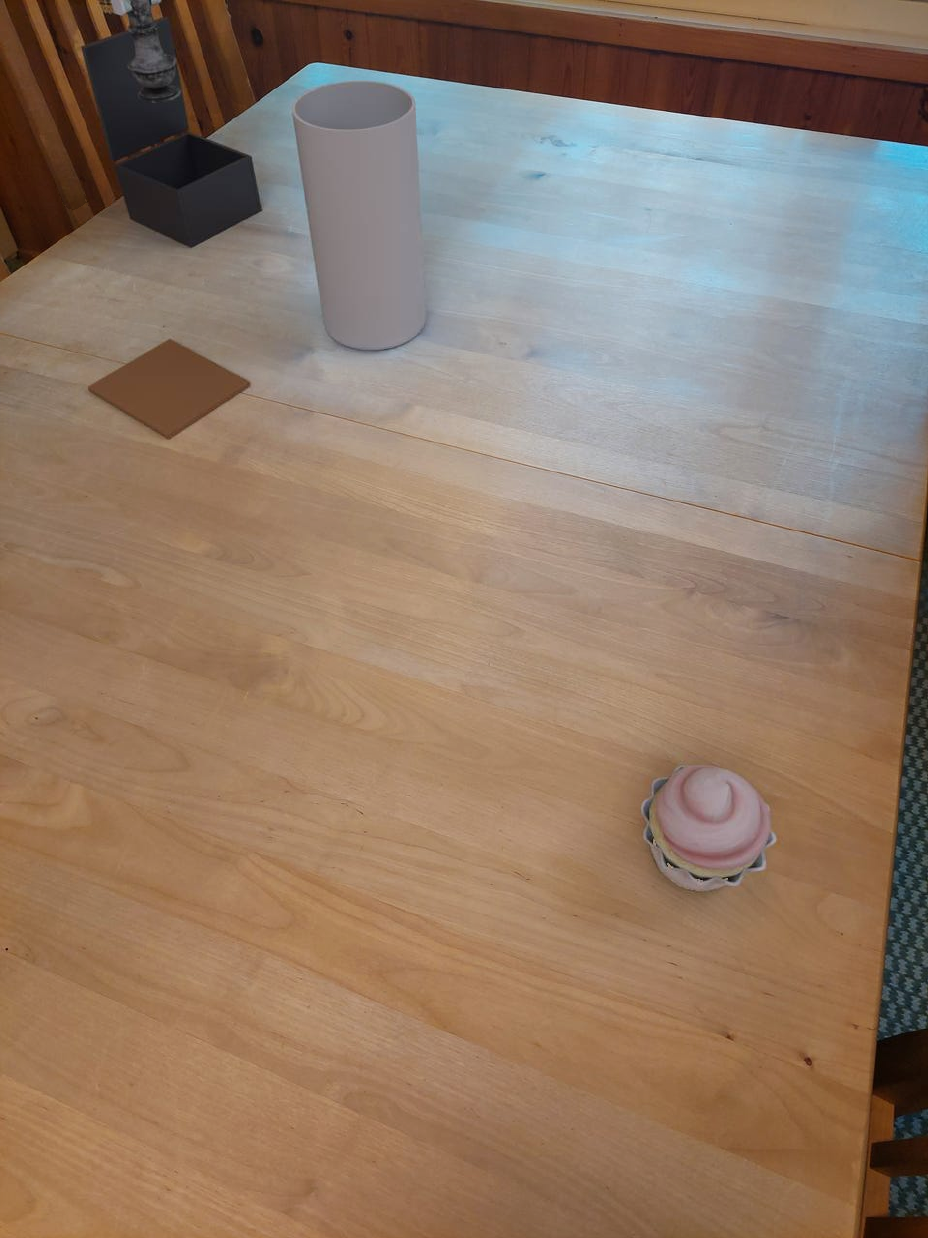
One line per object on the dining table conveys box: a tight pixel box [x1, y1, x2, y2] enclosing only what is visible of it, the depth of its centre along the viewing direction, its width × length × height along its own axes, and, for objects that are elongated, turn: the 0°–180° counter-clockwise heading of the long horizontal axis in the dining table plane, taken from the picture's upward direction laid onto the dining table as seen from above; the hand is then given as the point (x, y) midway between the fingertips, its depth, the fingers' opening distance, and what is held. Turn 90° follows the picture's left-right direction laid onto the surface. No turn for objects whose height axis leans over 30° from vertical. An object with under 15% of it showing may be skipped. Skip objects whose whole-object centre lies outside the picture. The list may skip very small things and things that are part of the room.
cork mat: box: [87, 338, 251, 440], centre depth 102 cm, size 14×12×1 cm
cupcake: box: [640, 764, 778, 892], centre depth 62 cm, size 9×9×10 cm
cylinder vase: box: [291, 80, 427, 351], centre depth 101 cm, size 12×12×25 cm
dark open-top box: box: [113, 131, 263, 249], centre depth 126 cm, size 13×13×8 cm
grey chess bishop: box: [126, 0, 181, 103], centre depth 108 cm, size 6×6×12 cm
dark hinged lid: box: [80, 16, 190, 163], centre depth 119 cm, size 14×13×1 cm
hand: (138, 8), depth 106 cm, fingers closed on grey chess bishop, 3 cm apart
